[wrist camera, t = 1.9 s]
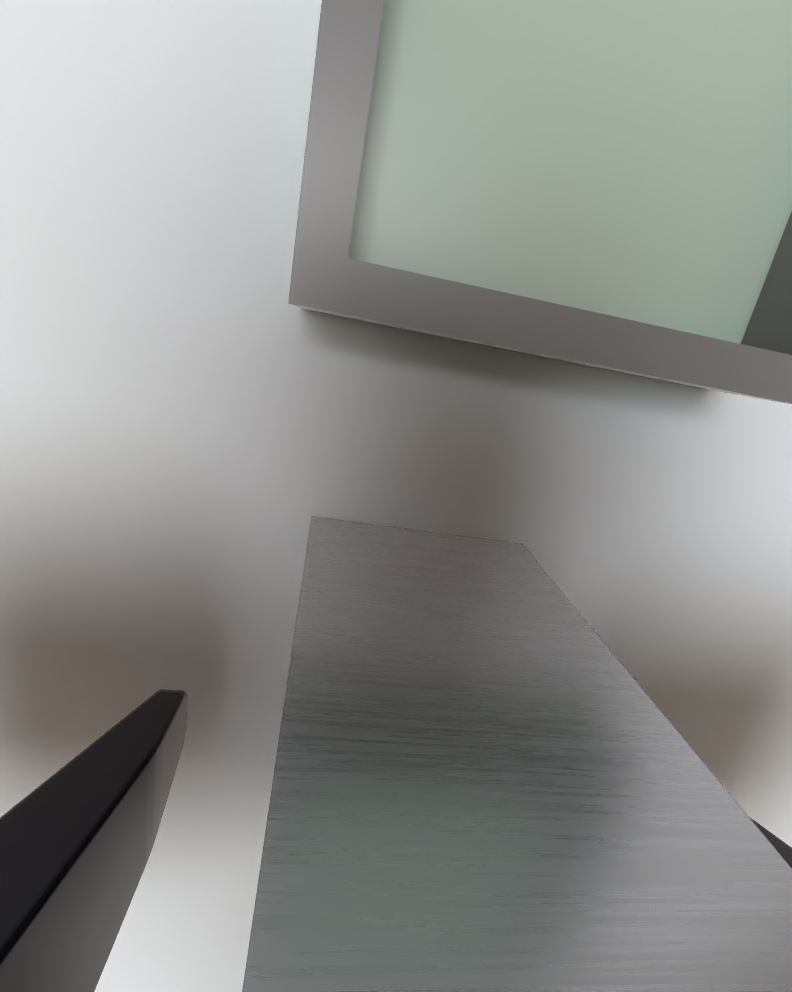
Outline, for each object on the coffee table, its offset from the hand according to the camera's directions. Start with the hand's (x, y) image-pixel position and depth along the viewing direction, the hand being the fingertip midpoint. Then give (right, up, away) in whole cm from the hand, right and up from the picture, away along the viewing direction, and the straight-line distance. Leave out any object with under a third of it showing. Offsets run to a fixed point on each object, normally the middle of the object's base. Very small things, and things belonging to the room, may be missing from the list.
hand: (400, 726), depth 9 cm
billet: (0, +1, +2) cm, 2 cm away
